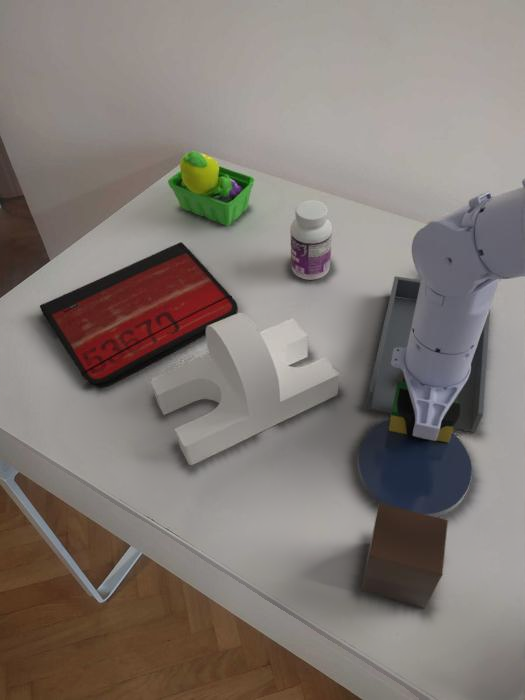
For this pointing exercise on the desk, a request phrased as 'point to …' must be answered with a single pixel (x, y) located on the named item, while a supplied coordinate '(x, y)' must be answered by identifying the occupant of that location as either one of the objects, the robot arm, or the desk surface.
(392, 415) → the sponge
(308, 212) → the pill bottle
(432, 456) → the plate
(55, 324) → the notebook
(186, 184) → the fruit basket
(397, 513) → the brown wooden block
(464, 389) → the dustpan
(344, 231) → the desk surface
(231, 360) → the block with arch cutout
